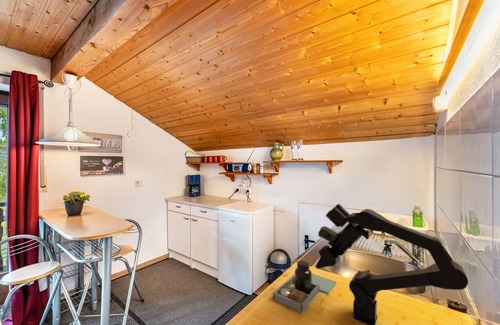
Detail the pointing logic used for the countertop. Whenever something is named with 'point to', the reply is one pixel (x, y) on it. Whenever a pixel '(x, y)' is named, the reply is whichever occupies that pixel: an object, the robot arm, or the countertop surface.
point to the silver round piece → (286, 292)
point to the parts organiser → (292, 303)
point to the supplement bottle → (303, 277)
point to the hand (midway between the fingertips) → (321, 263)
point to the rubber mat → (323, 283)
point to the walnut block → (298, 296)
